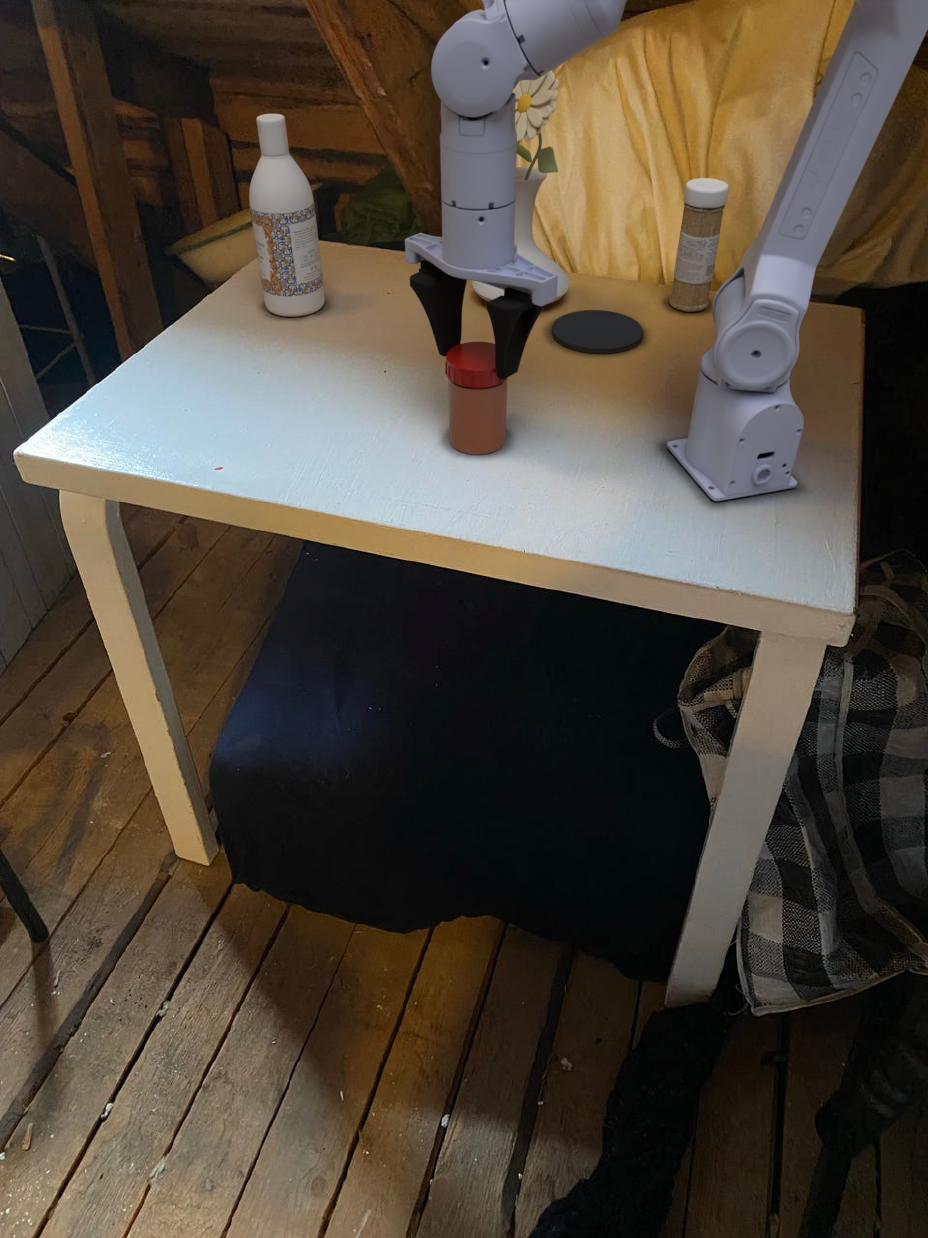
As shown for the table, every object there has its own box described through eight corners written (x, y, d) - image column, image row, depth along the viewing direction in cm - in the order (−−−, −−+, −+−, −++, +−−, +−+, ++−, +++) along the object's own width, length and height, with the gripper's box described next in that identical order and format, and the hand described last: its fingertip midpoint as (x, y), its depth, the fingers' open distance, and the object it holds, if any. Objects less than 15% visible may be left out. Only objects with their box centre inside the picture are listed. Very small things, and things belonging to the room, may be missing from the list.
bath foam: (257, 301, 109) (227, 113, 96) (312, 289, 111) (290, 105, 98) (277, 322, 104) (248, 128, 91) (334, 310, 107) (314, 119, 93)
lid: (518, 383, 79) (519, 365, 78) (455, 392, 78) (455, 374, 77) (499, 354, 83) (499, 337, 82) (438, 363, 82) (438, 345, 81)
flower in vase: (460, 285, 112) (457, 47, 95) (547, 273, 114) (559, 39, 98) (494, 329, 103) (498, 73, 86) (588, 315, 105) (610, 65, 89)
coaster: (657, 347, 99) (658, 341, 99) (570, 359, 97) (570, 353, 97) (621, 310, 106) (621, 305, 106) (539, 320, 104) (539, 315, 104)
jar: (513, 449, 84) (515, 369, 78) (458, 458, 83) (456, 377, 77) (496, 422, 87) (497, 343, 82) (443, 430, 86) (441, 351, 81)
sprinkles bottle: (686, 294, 110) (704, 173, 101) (716, 306, 107) (738, 183, 98) (660, 304, 107) (677, 181, 98) (690, 316, 105) (710, 192, 96)
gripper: (585, 204, 70) (572, 371, 79) (443, 168, 77) (446, 324, 86) (528, 229, 66) (521, 402, 75) (383, 188, 73) (393, 350, 82)
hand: (477, 362), depth 80 cm, fingers open, 6 cm apart
